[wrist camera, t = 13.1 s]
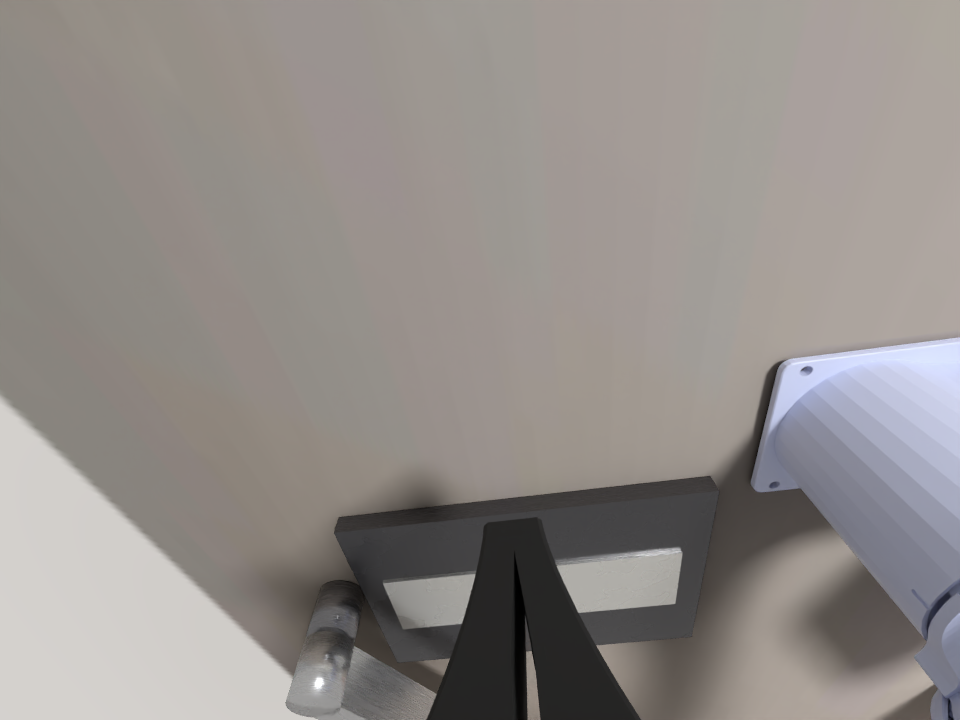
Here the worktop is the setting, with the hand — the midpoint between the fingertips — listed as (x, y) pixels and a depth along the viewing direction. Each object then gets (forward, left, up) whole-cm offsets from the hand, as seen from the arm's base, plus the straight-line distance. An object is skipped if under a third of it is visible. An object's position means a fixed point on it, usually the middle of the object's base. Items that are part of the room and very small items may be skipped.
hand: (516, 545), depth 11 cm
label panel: (+2, +16, -9) cm, 19 cm away
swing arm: (+8, +24, -6) cm, 26 cm away
